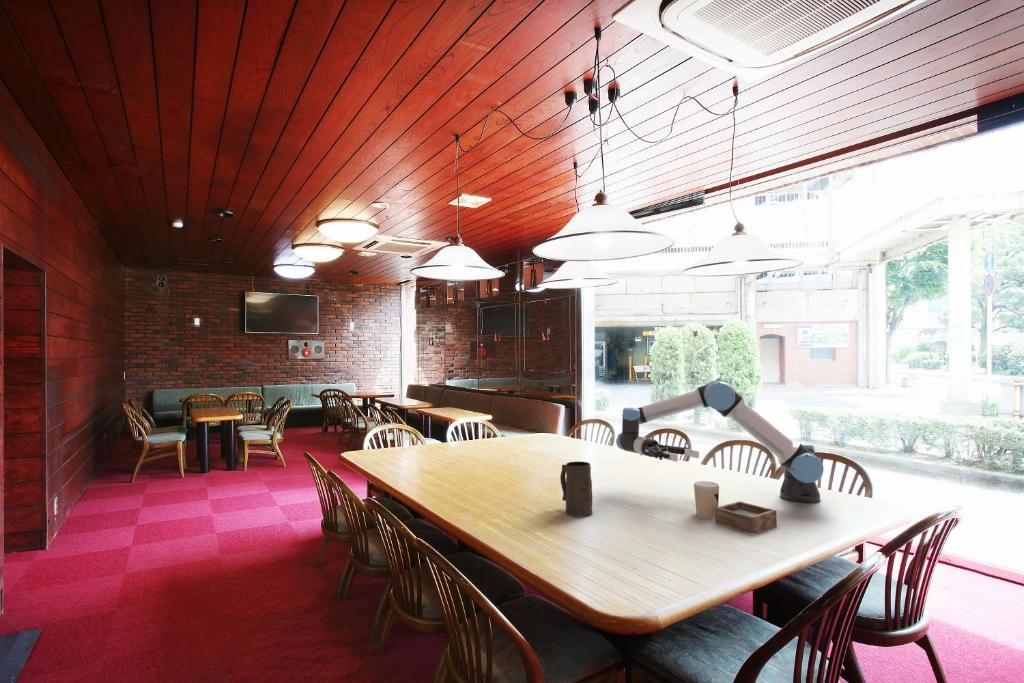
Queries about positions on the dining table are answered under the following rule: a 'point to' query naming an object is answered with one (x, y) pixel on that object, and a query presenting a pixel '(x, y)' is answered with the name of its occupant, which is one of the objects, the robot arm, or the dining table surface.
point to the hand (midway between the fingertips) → (688, 456)
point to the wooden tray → (746, 517)
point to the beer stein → (577, 488)
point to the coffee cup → (706, 498)
